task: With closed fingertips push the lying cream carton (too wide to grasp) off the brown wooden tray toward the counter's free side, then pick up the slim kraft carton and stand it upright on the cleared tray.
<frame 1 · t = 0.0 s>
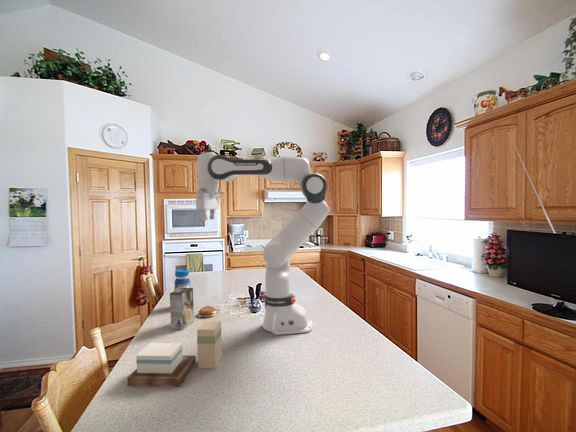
hand: (208, 219, 126), 48 cm above the kitchen island, fingers open, 8 cm apart
brown wooden tray: (163, 373, 91), on the kitchen island
beverage bottle: (183, 307, 152), on the kitchen island
wide carton: (160, 365, 91), point 2 cm above the kitchen island, touching brown wooden tray
coffee box: (182, 325, 129), on the kitchen island
slim carton: (210, 362, 97), on the kitchen island
hamburger: (210, 314, 142), on the kitchen island
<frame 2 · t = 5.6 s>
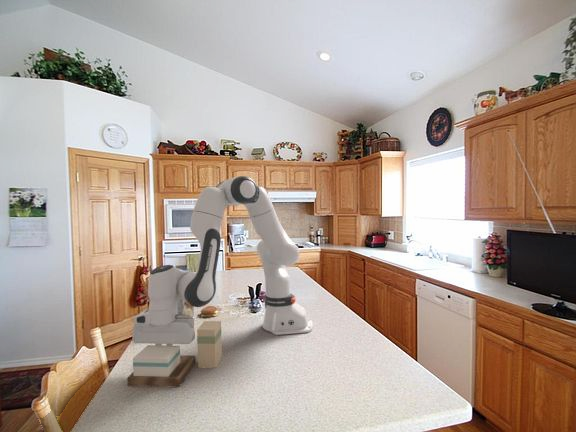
hand: (164, 355, 94), 4 cm above the kitchen island, fingers closed
wide carton: (157, 368, 89), point 3 cm above the kitchen island
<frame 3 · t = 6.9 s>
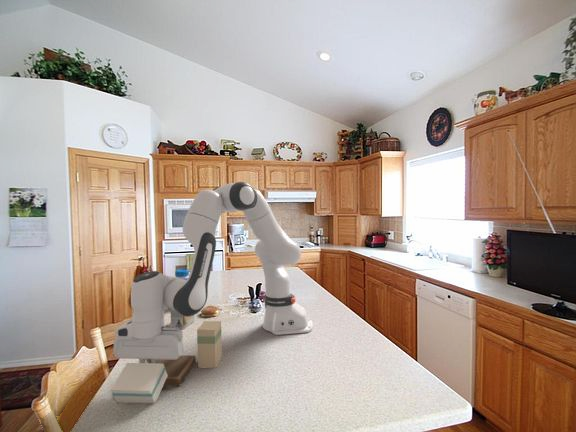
hand: (149, 371, 85), 4 cm above the kitchen island, fingers closed
wide carton: (143, 388, 81), point 2 cm above the kitchen island, tilted 24°, touching gripper
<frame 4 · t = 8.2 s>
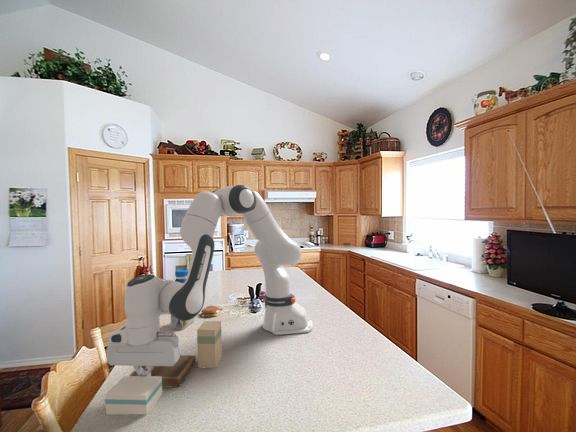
hand: (144, 378, 82), 4 cm above the kitchen island, fingers closed
wide carton: (135, 404, 77), on the kitchen island
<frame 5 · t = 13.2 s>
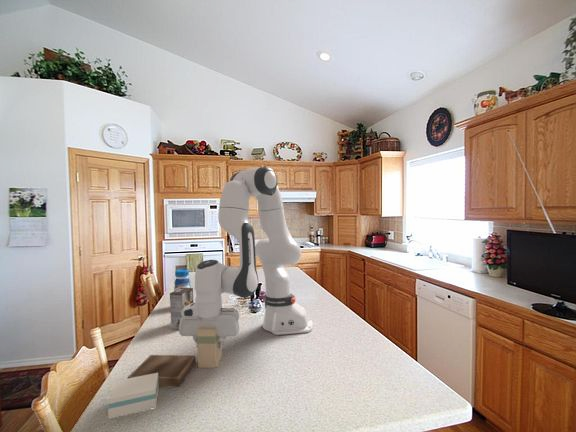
hand: (210, 347, 97), 5 cm above the kitchen island, fingers closed on slim carton, 6 cm apart
slim carton: (210, 362, 97), on the kitchen island, touching gripper
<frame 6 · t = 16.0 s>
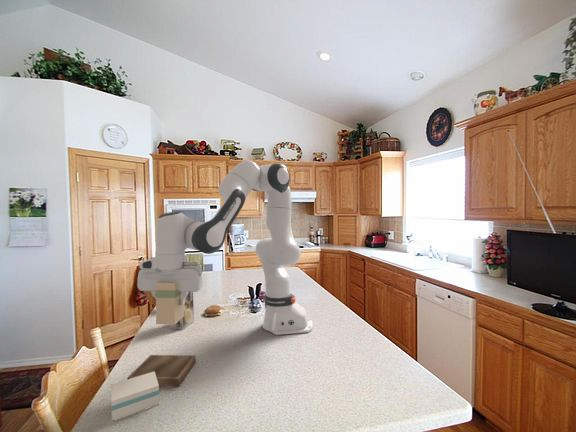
hand: (170, 304, 91), 22 cm above the kitchen island, fingers closed on slim carton, 6 cm apart
slim carton: (170, 320, 91), point 17 cm above the kitchen island, touching gripper
when the fingers open (9 cm above the kitchen island, at t = 19.1 s): slim carton drops 1 cm, resting on brown wooden tray.
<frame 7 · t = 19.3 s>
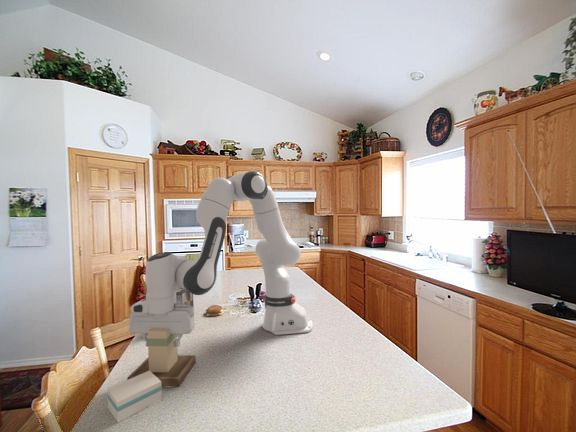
hand: (163, 345, 91), 9 cm above the kitchen island, fingers open, 8 cm apart
slim carton: (163, 365, 91), point 3 cm above the kitchen island, touching brown wooden tray
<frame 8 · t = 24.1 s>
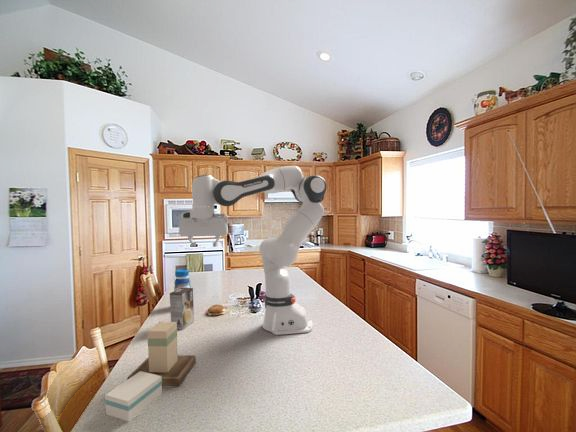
hand: (204, 246, 118), 37 cm above the kitchen island, fingers open, 8 cm apart
at the end: slim carton inside the target area on the brown wooden tray (0.1 cm from its centre), point 2.5 cm above the brown wooden tray's base; slim carton tilted 0°; wide carton touching kitchen island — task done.
